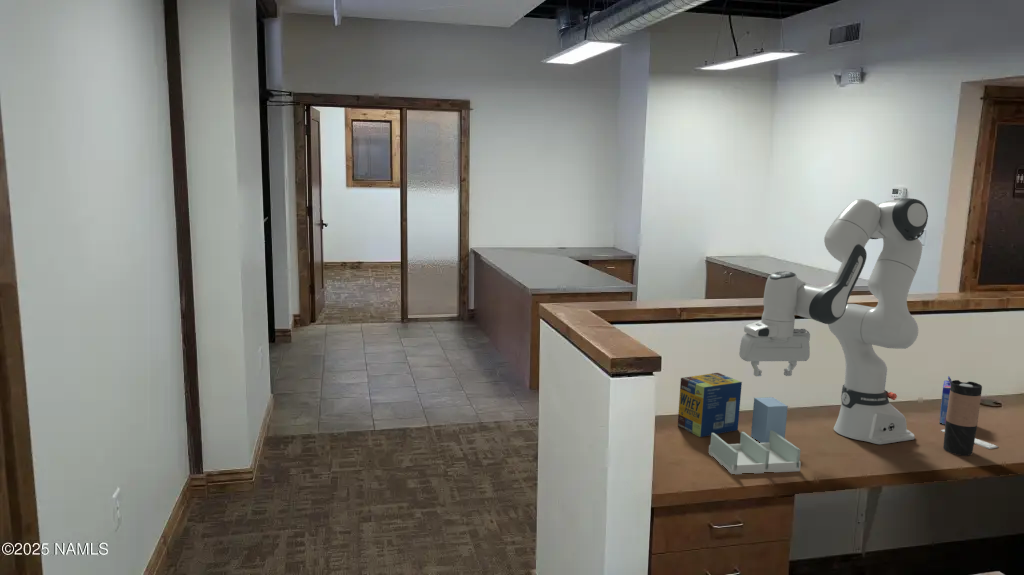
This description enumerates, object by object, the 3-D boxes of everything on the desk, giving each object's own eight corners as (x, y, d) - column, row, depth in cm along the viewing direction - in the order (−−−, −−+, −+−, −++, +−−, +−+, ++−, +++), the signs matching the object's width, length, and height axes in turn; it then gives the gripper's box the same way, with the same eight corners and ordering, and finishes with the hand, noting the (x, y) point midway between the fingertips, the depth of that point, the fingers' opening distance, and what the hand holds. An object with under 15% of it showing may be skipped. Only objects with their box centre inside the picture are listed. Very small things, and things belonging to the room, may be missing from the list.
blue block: (769, 435, 214) (773, 397, 212) (784, 446, 207) (787, 406, 205) (750, 436, 213) (754, 397, 211) (764, 446, 206) (768, 406, 204)
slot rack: (772, 450, 203) (774, 430, 202) (799, 471, 189) (802, 449, 188) (708, 453, 200) (709, 432, 199) (732, 474, 186) (733, 452, 185)
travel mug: (961, 457, 201) (970, 389, 198) (936, 447, 208) (944, 381, 205) (979, 454, 204) (988, 386, 201) (953, 444, 211) (962, 378, 208)
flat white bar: (951, 430, 224) (951, 427, 224) (1000, 448, 210) (1000, 444, 210) (940, 432, 222) (940, 429, 222) (988, 450, 208) (989, 446, 208)
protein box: (676, 426, 221) (679, 377, 218) (714, 419, 228) (718, 372, 225) (700, 437, 211) (703, 387, 209) (739, 430, 218) (743, 381, 216)
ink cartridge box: (939, 415, 237) (944, 372, 235) (958, 418, 234) (964, 375, 232) (938, 423, 229) (943, 379, 227) (958, 427, 226) (964, 383, 224)
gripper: (804, 326, 209) (799, 372, 212) (739, 326, 206) (734, 372, 208) (816, 331, 203) (811, 378, 205) (749, 331, 200) (745, 379, 202)
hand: (772, 375), depth 207 cm, fingers open, 8 cm apart
